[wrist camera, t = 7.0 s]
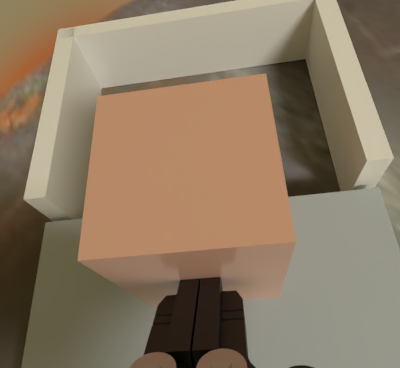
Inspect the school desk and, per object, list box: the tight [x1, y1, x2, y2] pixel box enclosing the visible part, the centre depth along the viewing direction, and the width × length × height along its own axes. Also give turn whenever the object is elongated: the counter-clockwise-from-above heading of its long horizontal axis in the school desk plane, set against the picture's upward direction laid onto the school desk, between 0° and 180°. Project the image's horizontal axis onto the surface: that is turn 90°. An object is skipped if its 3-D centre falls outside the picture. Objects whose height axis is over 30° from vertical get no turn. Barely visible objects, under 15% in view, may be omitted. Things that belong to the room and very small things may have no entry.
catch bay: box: [23, 0, 394, 221], centre depth 23 cm, size 18×13×5 cm
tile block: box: [77, 74, 296, 306], centre depth 14 cm, size 6×6×8 cm
